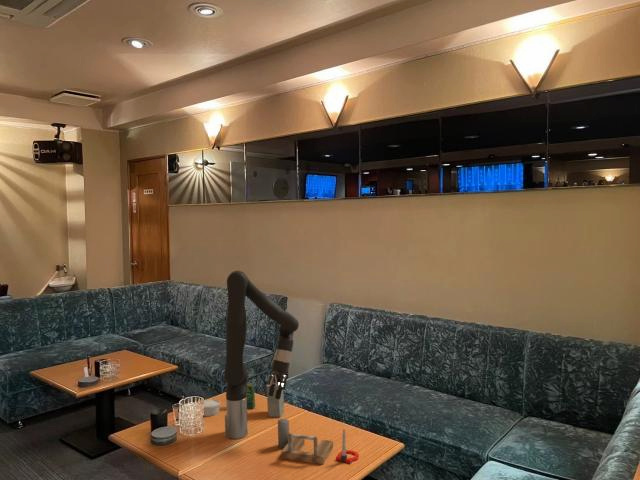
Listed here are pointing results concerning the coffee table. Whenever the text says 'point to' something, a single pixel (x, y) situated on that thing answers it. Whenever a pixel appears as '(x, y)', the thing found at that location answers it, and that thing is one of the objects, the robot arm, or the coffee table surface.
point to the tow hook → (342, 454)
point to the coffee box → (250, 396)
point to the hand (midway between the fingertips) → (273, 397)
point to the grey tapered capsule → (283, 433)
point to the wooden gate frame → (317, 456)
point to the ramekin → (211, 407)
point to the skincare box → (275, 404)
